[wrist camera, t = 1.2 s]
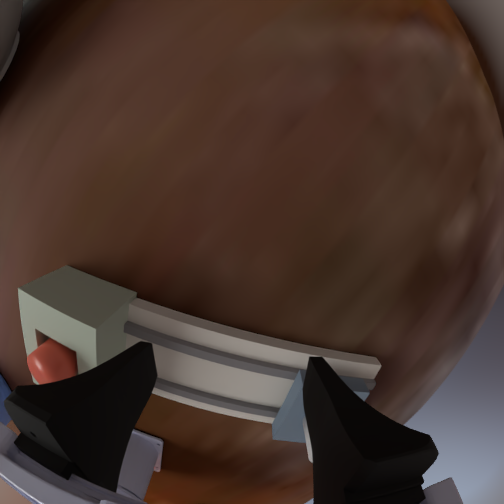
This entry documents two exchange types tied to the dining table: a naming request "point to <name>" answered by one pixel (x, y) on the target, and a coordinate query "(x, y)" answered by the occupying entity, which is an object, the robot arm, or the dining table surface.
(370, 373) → the track
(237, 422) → the dining table surface
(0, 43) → the decorative bowl
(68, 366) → the plunger
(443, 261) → the dining table surface
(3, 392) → the water jug
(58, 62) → the dining table surface
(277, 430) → the carriage
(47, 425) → the robot arm
